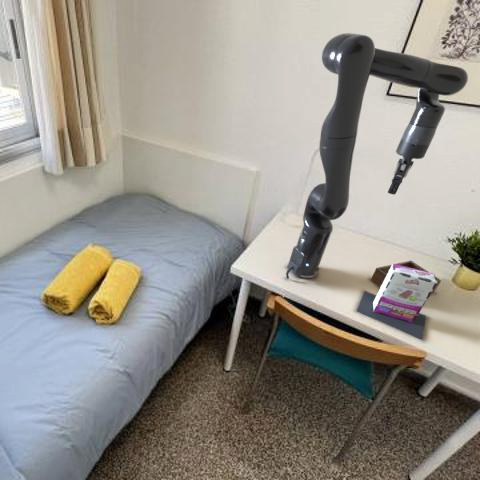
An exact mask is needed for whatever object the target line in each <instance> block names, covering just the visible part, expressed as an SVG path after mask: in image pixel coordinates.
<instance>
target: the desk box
mask: <svg viewBox="0 0 480 480" xmlns="http://www.w3.org/2000/svg"><path fill="white" fill-rule="evenodd" d="M396 264H397V265H401V266H405V267H409V268H413V269H417V270H421V271H426V272H429V271H428V270H427V269H425V268H424V267H422V266H420V265H419V264H417V263H416V262H415V261H412V260H408V261H403V262H398V263H396ZM391 266H392V264H388V265H384V266H379V267H378V266H377V267H376V268H375V270H374V272H373V273H372V275H371V278H370V281H371V282H372V283H374V284H375V285H376V286H378V288H379V289H380V288H381V286H382V284H383V282H384V280H385V278H386V276H387V274H388V272H389V270H390V268H391ZM435 277H436V280H437V282H438V283H437V284H436V286H435V288H434V289H433V291H432V292H431V294H434V293H435V291H437V288H438V287H439V285H440V284H441V282H442V279H440V278H439V277H437V276H435Z"/></svg>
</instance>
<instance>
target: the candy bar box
mask: <svg viewBox="0 0 480 480" xmlns="http://www.w3.org/2000/svg"><path fill="white" fill-rule="evenodd" d="M391 265H392V266H391V268H390V270H389V272H388V274H387V276H386V278H385V280H384V282H383V284H382V286H381V288H380V287H379V290H378V292H377V294H376V298H375V300H374V302H373V310H374V312H376V313H379V314H383V315H386V316H390V317H393V318H397V319H400V320H404V321H407V322H411V323H413V322H414V320H415V319H416V317H417V316H418V314H419V313H421V311H422V309H423V307H424V306H425V304H426V302H427V301H428V299H429V297H430V296H431V294H432V293H431V292H432V291H433V289H434V288H435V286H436V284H437V283H438V282H437V280H436V277H437V276H436V274H435V273H433V272H430V271H428V272H426V271H427V270H426V271H421V270H417V269H413V268H409V267H405V266H401V265H397V263H392V264H391Z"/></svg>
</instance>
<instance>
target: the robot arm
mask: <svg viewBox="0 0 480 480" xmlns="http://www.w3.org/2000/svg"><path fill="white" fill-rule="evenodd" d="M321 53H322V54H321V62H322V65H323V67H324V68H325V69H326V70H327V71H329V72H330V73H331V74H335V75H337V88H336V95H335V99H334V102H333V104H332V106H331V108H330V110H329V111H328V112H327V115H326V116H325V118H324V120H323V122H322V125H321V129H320V137H319V146H318V148H319V149H318V150H319V156H320V161H321V164H322V169H323V174H324V179H325V180H324V181H325V182H321V183H319V184H317V185H315V186H314V187H313V188H312V189H311V191H310V192H309V194H308V197H307V199H306V203H305V206H304V211H303V216H302V228H301V230H300V233H299V236H298V240H297V242H296V245H295V246H293V248H292V251H291V254H290V257H289V260H288V262H287V270H286V274H285V278H286V279H287V280H289V279H290V276H289V274H290V272H291V273H292V274H293V275H294V276H295V277H296V278H302V279H312V278H315V277H316V276H317V273H318V271H319V270H320V269H319V267H320V264H321V262H322V260H323V256H324V253H325V251H326V248H327V245H328V243H329V241H330V238H331V236H332V232H333V230H334V227H333V223H332V221H335V220H337V219H339V218H341V217H342V216H343V215H344V214H345V212H346V211H347V208H348V205H349V200H350V182H351V181H350V180H351V173H352V166H353V159H354V152H355V147H356V143H357V138H358V137H357V136H358V131H359V122H360V118H361V112H362V109H363V108H362V107H363V101H364V97H365V92H366V89H367V85H368V82H369V78H370V76H371V77H374V78H378V79H380V80H383V81H386V82H389V83H392V84H396V85H399V86H402V87H403V86H404V87H406V88H413V89H417V95H416V102H415V108H414V111H413V112H412V115H411V118H410V120H409V122H408V124H407V126H406V128H405V129H404V130H403V133H402V136H401V139H400V141H399V142H398V145H397V147H396V150H395V153H396V154H397V155H398V156H402V158H399V159H398V161H397V163H396V167H395V170H394V171H393V178H391V184H390V186H389V188H388V190H387V193H388V194H390V195H392V196H393V195H394V196H395V195H396V194H397V192H398V190H399V188H400V185H401V184H402V183H403V180H404V179H406V177H407V176H408V174H409V171H410V170H411V169H412V168H413V166H414V163H415V161H414V160H413V159H415V160H421V159H424V158H425V156H426V154H427V152H428V150H429V147H430V145H431V144H432V141H433V139H434V137H435V135H436V132H437V128H438V127H439V125H440V122H441V121H442V118H443V116H444V114H445V111H446V107H445V106H444V105H443V104H442V103H441V102H440V101H439V98H440V96H444V97H450V96H453V95H456V94H459V92H461V91H462V90H464V88H465V87H466V85H467V83H468V81H469V75H468V72H467V71H466V70H465V69H464V68H462V67H459V66H455V65H451V64H444V63H439V62H436V61H432V60H430V59H427V58H424V57H421V56H416V55H413V54H408V53H402V52H396V51H390V50H385V49H382V48H381V49H380V48H376V46H375V42H374V40H373V39H372V38H371V37H370V36H369V35H366V34H360V33H352V32H347V33H345V32H344V33H340V34H337V35H334V36H333V37H332V38H331V39H329V40H328V41H327V43H326V44H325V46H324V47H323V50H322V52H321Z"/></svg>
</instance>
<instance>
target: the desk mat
mask: <svg viewBox="0 0 480 480" xmlns="http://www.w3.org/2000/svg"><path fill="white" fill-rule="evenodd" d="M376 296H377V294H373V293H372V292H368V291H366V290H364V292H363V294H362V296H361V299H360V301H359V304H358V306H357V308H356V312H358V313H360V314H362V315H364V316H366V317H369V318H372V319H373V320H376V321H378V322H380V323H382V324H385V325H387V326H389V327H392V328H394V329H395V330H398V331H400V332H403V333H405V334H408V335H410V336H412V337H415V338H417V339H419V340H423V337H424V332H425V331H424V330H425V327H426V326H425V325H426V320H427V315H425V314H423V313H421V312H419V314H418V316H417V317H416V319H415V320H414V322H413V323H411V322H407V321H404V320H400V319H397V318H393V317H390V316H386V315H383V314H379V313H376V312H374V310H373V302H374V300H375V298H376Z"/></svg>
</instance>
